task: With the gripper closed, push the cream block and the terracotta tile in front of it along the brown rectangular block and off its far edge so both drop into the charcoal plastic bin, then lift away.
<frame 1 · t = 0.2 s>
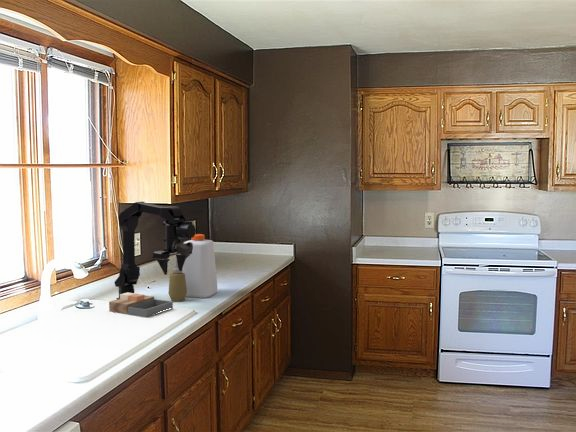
hand: (173, 272, 249), 14 cm above the countertop, fingers open, 9 cm apart
terracotta tile: (136, 299, 245), point 4 cm above the countertop, touching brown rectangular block
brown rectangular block: (132, 308, 247), on the countertop
plastic bottle: (199, 295, 273), on the countertop
charcoal bin: (150, 311, 242), on the countertop
squeeze bottle: (177, 300, 262), on the countertop
cream block: (127, 298, 247), point 4 cm above the countertop, touching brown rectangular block
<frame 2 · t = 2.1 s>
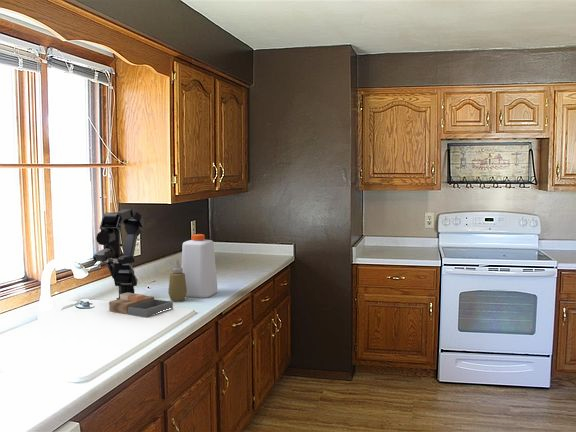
hand: (114, 278, 250), 12 cm above the countertop, fingers closed
nothing on the countertop moved.
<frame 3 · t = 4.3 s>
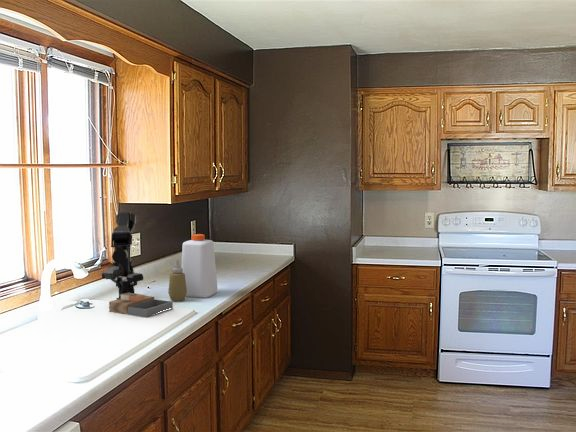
hand: (122, 296, 249), 5 cm above the countertop, fingers closed
terracotta tile: (136, 299, 245), point 4 cm above the countertop
cream block: (128, 298, 247), point 4 cm above the countertop, touching gripper
everything else where it was.
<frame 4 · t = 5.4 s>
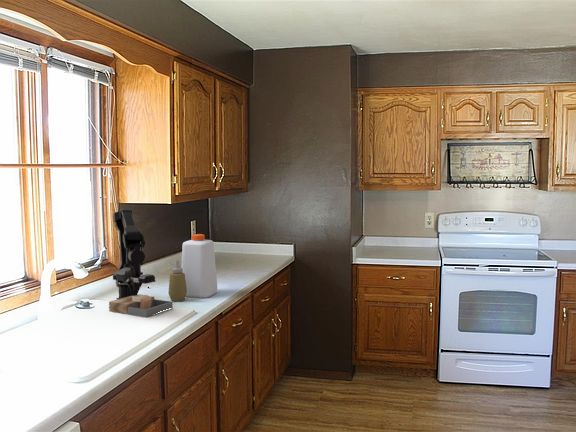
hand: (134, 297, 245), 5 cm above the countertop, fingers closed
terracotta tile: (143, 303, 243), point 3 cm above the countertop, tilted 104°, touching charcoal bin
cream block: (140, 300, 244), point 4 cm above the countertop, touching gripper, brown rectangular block
everything else where it was.
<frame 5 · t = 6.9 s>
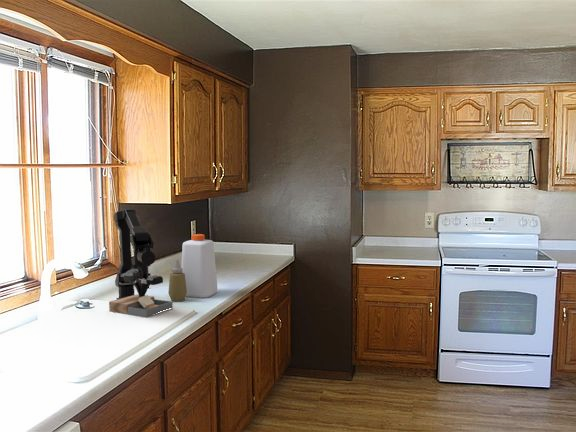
hand: (141, 298, 244), 5 cm above the countertop, fingers closed
terracotta tile: (154, 306, 241), point 2 cm above the countertop, tilted 180°, touching charcoal bin, cream block
cream block: (145, 303, 243), point 3 cm above the countertop, tilted 41°, touching gripper, terracotta tile
everything else where it was.
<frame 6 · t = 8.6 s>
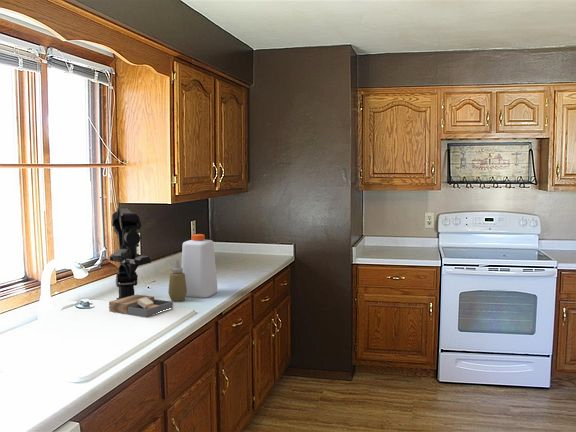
hand: (130, 278, 250), 12 cm above the countertop, fingers closed
cream block: (144, 304, 243), point 2 cm above the countertop, tilted 24°, touching charcoal bin, terracotta tile
everything else where it was.
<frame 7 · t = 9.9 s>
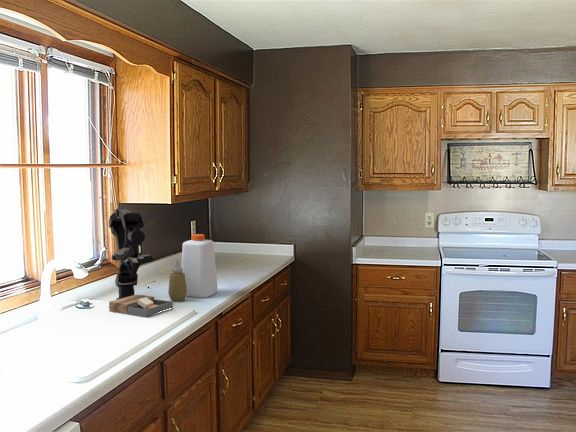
hand: (133, 277, 252), 12 cm above the countertop, fingers closed
nothing on the countertop moved.
at the end: cream block inside the target area (3.3 cm from its centre), point 2.4 cm above the countertop; terracotta tile inside the target area (1.4 cm from its centre), point 2.3 cm above the countertop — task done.
